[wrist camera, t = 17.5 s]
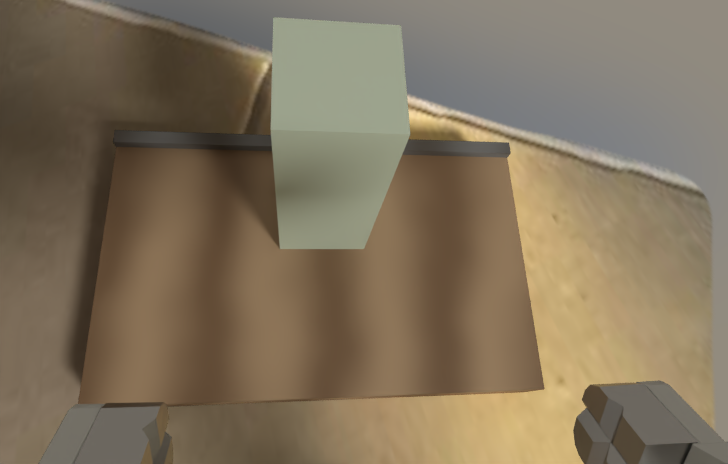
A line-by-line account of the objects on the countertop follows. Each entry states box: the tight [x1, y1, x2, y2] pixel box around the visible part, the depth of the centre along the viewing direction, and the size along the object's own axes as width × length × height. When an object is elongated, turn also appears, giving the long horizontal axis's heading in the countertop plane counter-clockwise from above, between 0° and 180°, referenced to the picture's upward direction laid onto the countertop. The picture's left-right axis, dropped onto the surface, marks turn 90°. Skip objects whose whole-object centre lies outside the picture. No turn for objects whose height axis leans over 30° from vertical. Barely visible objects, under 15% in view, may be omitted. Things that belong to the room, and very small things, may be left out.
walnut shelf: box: [78, 130, 544, 406], centre depth 31 cm, size 25×16×4 cm, turn 92°
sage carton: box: [271, 18, 410, 249], centre depth 25 cm, size 5×5×13 cm
